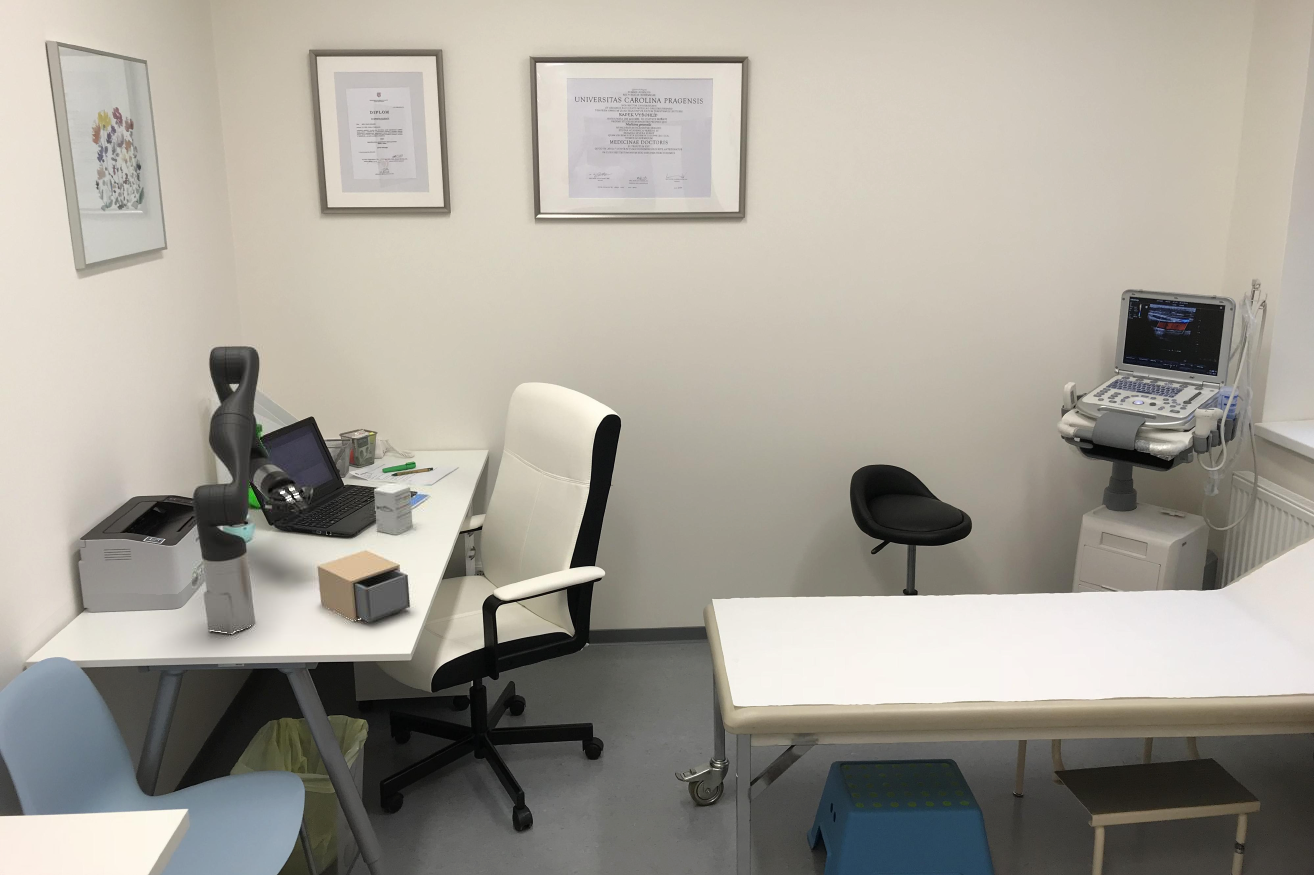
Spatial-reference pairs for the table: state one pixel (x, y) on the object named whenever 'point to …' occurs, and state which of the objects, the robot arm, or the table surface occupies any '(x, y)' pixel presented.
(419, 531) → the table surface
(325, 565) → the mailer sleeve
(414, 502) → the tablet computer
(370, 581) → the mailer tray
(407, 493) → the supplement box
